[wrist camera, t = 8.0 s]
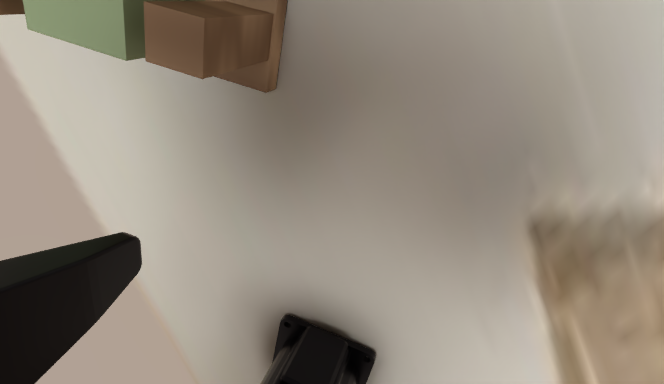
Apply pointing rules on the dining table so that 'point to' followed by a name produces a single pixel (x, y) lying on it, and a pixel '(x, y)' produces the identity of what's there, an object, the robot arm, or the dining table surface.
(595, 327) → the dining table surface
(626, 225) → the dining table surface
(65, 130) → the dining table surface
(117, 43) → the bottle
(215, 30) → the cradle
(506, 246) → the dining table surface
